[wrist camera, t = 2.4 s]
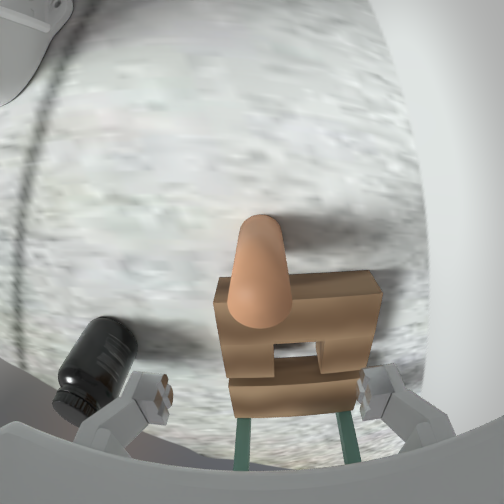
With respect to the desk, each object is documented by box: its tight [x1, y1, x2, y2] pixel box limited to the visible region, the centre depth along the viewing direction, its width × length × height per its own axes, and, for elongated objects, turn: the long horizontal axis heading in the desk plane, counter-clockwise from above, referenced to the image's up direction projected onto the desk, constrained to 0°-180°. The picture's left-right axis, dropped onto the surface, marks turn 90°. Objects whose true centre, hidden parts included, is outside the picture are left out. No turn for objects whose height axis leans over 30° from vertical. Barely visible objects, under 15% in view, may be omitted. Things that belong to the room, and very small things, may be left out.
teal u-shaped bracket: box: [233, 411, 361, 471], centre depth 27 cm, size 6×15×14 cm, turn 94°
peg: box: [227, 215, 292, 329], centre depth 21 cm, size 4×4×10 cm
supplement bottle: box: [52, 318, 138, 428], centre depth 26 cm, size 7×7×12 cm
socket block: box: [213, 270, 383, 418], centre depth 29 cm, size 17×14×4 cm
